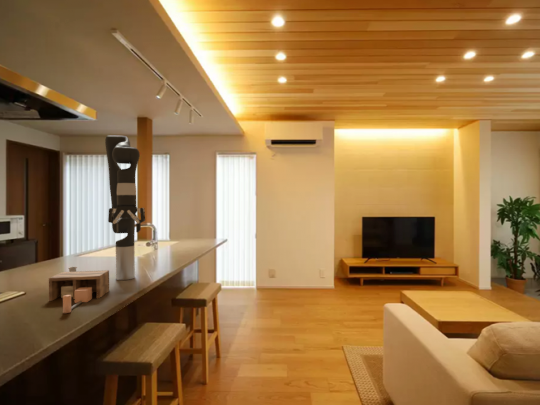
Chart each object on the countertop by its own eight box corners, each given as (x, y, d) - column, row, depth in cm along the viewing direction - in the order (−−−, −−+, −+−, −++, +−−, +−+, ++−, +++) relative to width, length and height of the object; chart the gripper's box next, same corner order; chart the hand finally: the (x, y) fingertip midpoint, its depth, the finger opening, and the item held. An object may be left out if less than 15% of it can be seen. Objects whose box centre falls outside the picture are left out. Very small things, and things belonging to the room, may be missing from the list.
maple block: (66, 294, 144) (66, 283, 144) (78, 294, 145) (78, 283, 145) (61, 297, 139) (61, 286, 139) (73, 297, 140) (73, 286, 140)
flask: (73, 290, 150) (73, 269, 150) (60, 290, 152) (59, 268, 152) (85, 286, 157) (85, 266, 157) (72, 286, 159) (72, 265, 159)
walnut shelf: (62, 292, 146) (62, 272, 146) (109, 290, 149) (109, 270, 149) (49, 300, 135) (48, 278, 135) (99, 298, 138) (99, 276, 138)
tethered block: (79, 299, 136) (79, 284, 136) (92, 298, 137) (91, 284, 137) (58, 313, 118) (58, 297, 118) (72, 312, 119) (72, 296, 119)
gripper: (146, 194, 143) (146, 231, 143) (111, 194, 141) (112, 232, 141) (142, 193, 135) (142, 233, 135) (105, 194, 133) (106, 233, 133)
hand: (127, 232), depth 138 cm, fingers open, 8 cm apart
